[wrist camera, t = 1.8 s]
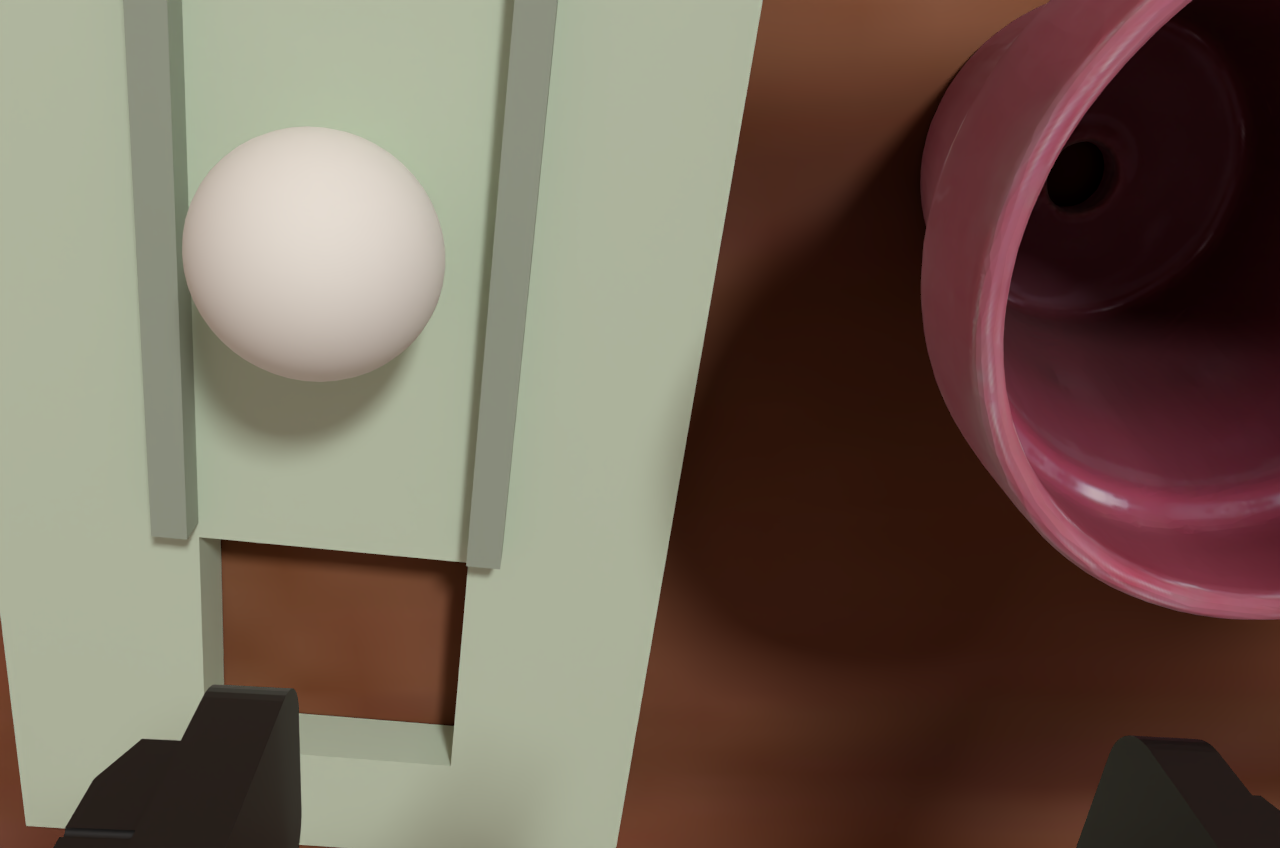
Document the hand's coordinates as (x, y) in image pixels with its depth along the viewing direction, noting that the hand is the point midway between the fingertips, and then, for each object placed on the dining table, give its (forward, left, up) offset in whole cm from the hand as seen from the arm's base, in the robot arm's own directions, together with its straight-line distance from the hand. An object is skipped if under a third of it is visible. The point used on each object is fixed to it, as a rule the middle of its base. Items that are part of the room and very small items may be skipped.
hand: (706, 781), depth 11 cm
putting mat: (+6, -8, -22) cm, 24 cm away
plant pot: (-4, +12, -23) cm, 26 cm away
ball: (0, -8, -17) cm, 19 cm away
